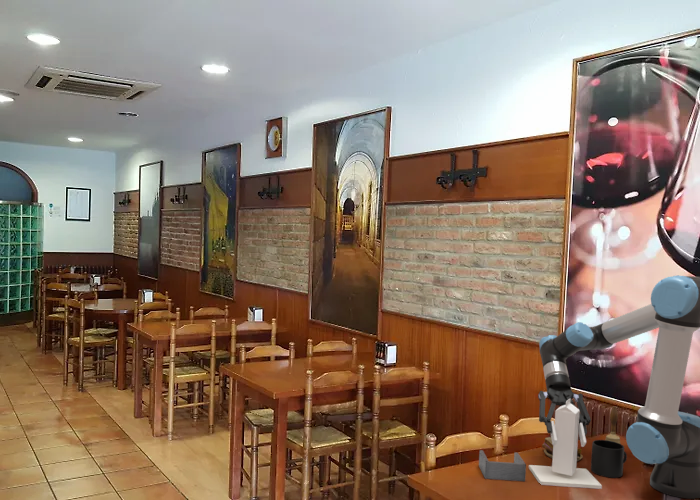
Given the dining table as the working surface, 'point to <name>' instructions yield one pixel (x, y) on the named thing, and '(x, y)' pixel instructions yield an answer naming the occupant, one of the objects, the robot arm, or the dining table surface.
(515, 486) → the dining table surface
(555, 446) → the milk
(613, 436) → the hand bell
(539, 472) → the board
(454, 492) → the dining table surface
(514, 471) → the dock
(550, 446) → the toy sandwich meal
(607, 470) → the mug
